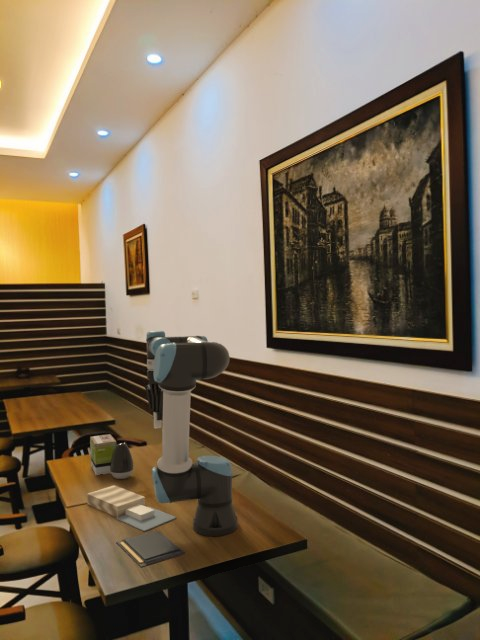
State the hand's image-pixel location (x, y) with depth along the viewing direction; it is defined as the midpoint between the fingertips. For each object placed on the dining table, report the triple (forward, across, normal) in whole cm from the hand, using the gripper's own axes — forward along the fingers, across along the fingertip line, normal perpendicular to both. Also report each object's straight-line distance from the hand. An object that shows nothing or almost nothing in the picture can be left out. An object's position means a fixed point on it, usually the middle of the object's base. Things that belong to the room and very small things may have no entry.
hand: (157, 427), depth 203 cm
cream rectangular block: (+26, +13, -19) cm, 35 cm away
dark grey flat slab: (+27, +35, -32) cm, 55 cm away
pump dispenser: (+27, -28, +2) cm, 39 cm away
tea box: (+27, -44, +3) cm, 52 cm away
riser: (+26, -2, -19) cm, 33 cm away
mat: (+26, +16, -19) cm, 36 cm away
